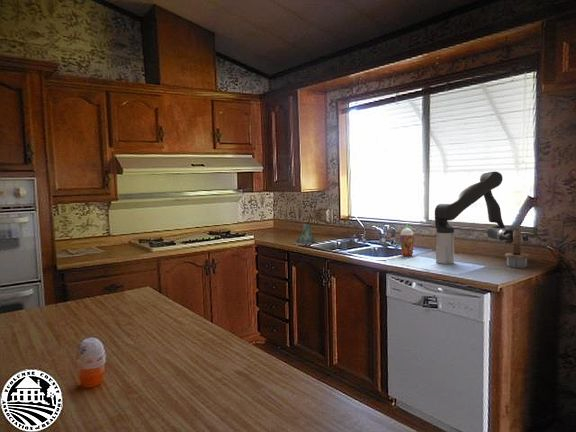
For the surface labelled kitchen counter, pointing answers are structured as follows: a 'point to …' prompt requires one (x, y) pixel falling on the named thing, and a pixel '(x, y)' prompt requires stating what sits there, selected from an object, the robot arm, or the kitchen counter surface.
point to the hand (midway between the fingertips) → (517, 239)
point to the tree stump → (306, 235)
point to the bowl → (516, 262)
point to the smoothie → (407, 241)
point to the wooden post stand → (517, 247)
